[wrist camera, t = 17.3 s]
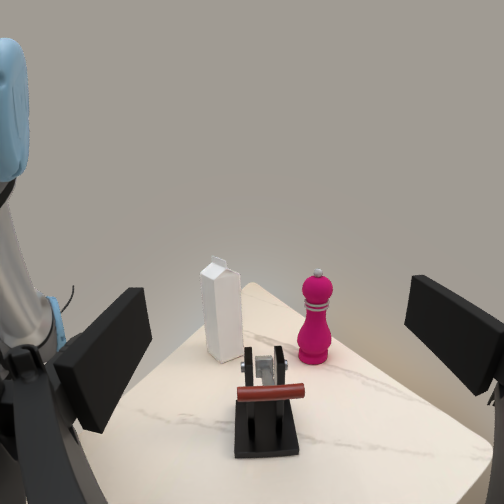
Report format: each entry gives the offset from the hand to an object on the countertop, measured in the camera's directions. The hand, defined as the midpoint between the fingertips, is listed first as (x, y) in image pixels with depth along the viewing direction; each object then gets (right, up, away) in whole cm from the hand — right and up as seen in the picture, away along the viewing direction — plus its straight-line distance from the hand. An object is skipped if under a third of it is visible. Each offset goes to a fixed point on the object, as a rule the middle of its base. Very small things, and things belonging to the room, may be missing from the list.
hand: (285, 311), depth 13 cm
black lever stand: (0, -25, +26) cm, 36 cm away
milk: (-7, -20, +48) cm, 53 cm away
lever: (0, -12, +17) cm, 21 cm away
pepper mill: (+12, -20, +45) cm, 51 cm away
